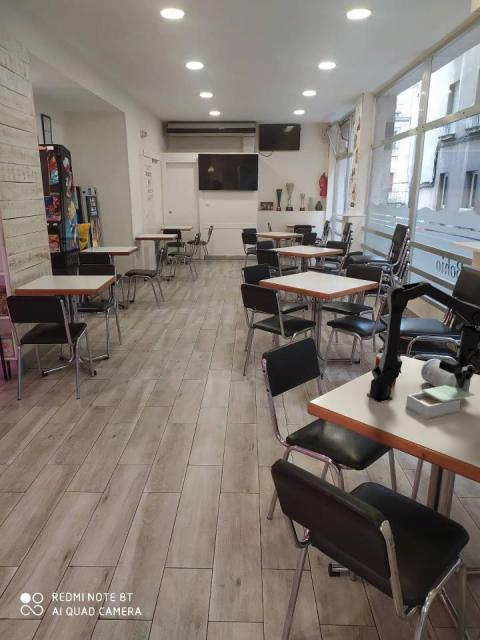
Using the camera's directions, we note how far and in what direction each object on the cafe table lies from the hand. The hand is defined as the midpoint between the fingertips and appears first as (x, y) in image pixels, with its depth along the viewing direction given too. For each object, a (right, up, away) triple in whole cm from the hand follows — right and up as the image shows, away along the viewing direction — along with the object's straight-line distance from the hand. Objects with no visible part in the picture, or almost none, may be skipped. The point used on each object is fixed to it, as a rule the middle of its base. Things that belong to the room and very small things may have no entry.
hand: (462, 387), depth 149 cm
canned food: (-21, -1, +17) cm, 27 cm away
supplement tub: (-3, +4, +19) cm, 19 cm away
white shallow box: (-12, -7, -3) cm, 14 cm away
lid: (-6, -2, -2) cm, 6 cm away
